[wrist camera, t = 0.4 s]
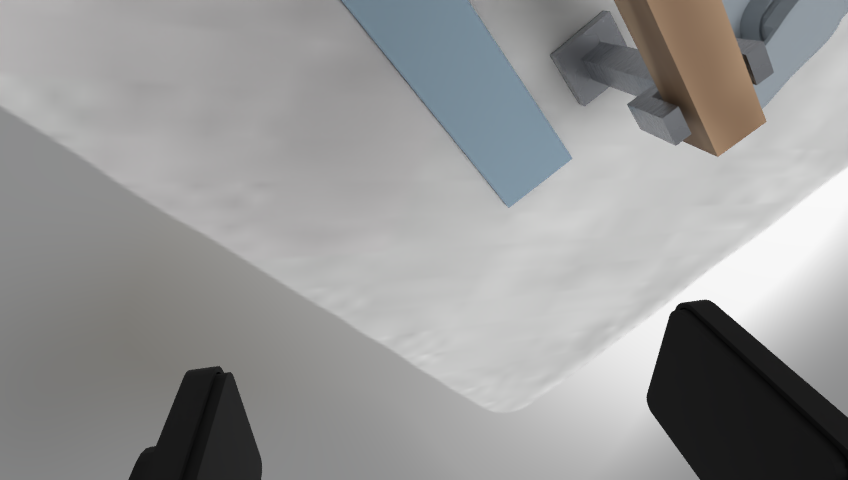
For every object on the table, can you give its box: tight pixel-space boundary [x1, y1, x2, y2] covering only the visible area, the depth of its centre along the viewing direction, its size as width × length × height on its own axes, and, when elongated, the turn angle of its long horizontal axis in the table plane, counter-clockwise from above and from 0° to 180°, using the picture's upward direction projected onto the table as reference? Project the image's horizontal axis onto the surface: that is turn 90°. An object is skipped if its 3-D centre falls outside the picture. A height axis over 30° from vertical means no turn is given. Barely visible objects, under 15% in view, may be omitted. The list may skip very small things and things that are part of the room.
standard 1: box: [550, 11, 774, 145], centre depth 31 cm, size 6×5×14 cm
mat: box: [342, 0, 572, 208], centre depth 35 cm, size 7×26×1 cm, turn 39°
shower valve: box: [722, 0, 848, 109], centre depth 36 cm, size 12×6×15 cm
